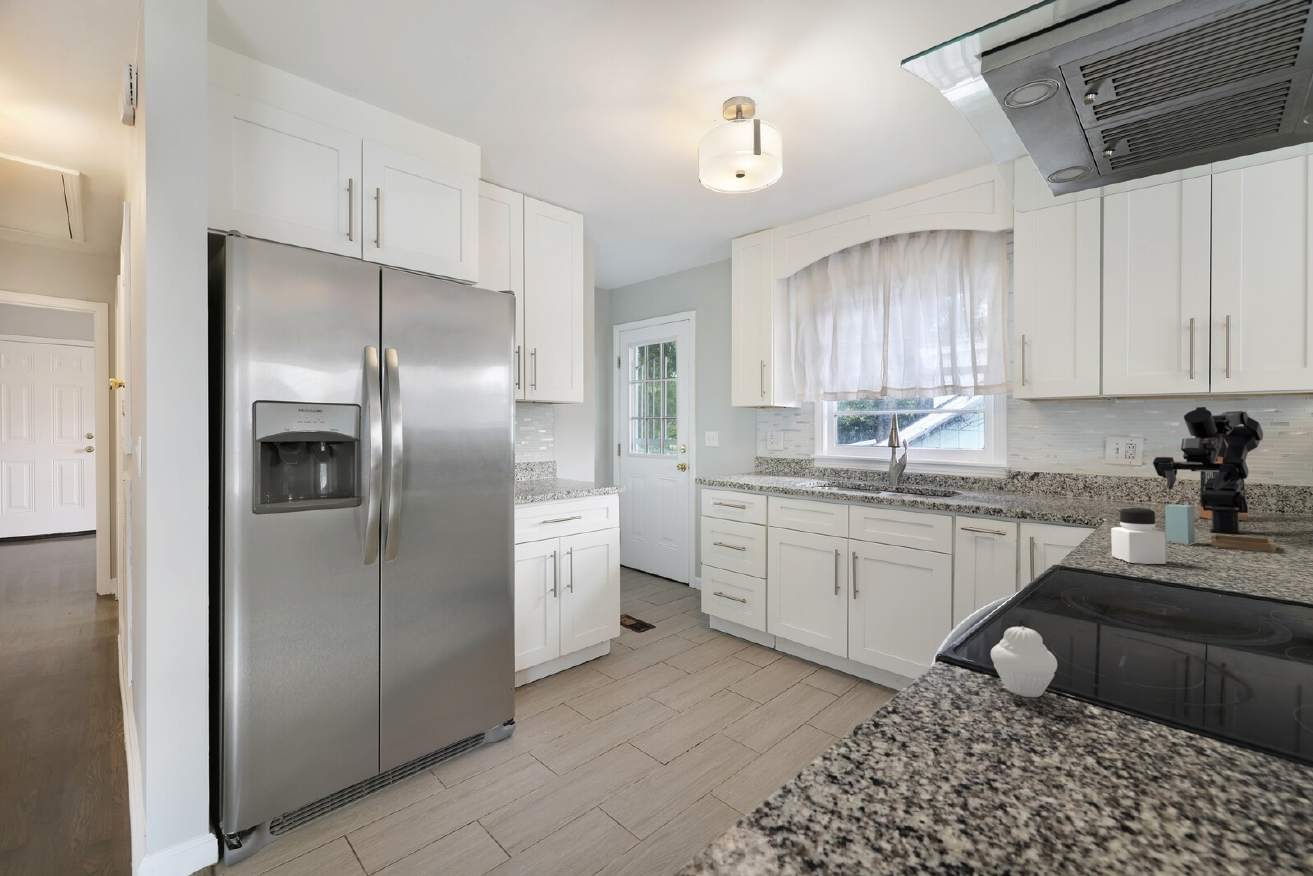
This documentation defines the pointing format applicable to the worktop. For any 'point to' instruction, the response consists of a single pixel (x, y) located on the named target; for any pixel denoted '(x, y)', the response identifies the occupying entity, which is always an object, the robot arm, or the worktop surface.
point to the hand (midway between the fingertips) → (1191, 489)
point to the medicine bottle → (1138, 537)
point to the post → (1179, 523)
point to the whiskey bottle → (1207, 475)
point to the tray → (1243, 543)
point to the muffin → (1024, 662)
